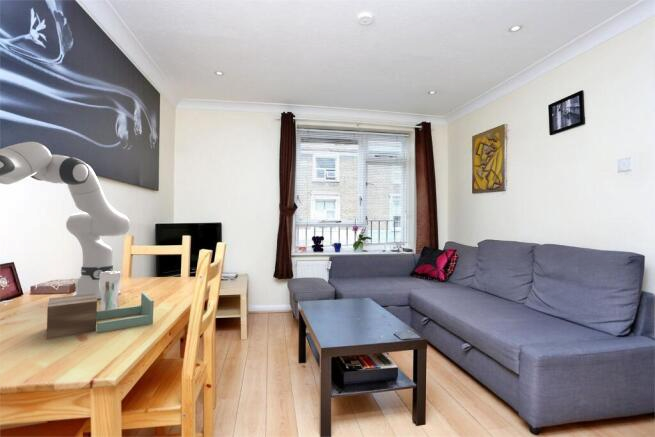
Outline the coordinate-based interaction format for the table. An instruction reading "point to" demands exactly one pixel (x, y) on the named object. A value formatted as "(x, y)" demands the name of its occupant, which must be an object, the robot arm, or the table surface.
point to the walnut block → (71, 315)
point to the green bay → (143, 309)
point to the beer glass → (109, 289)
